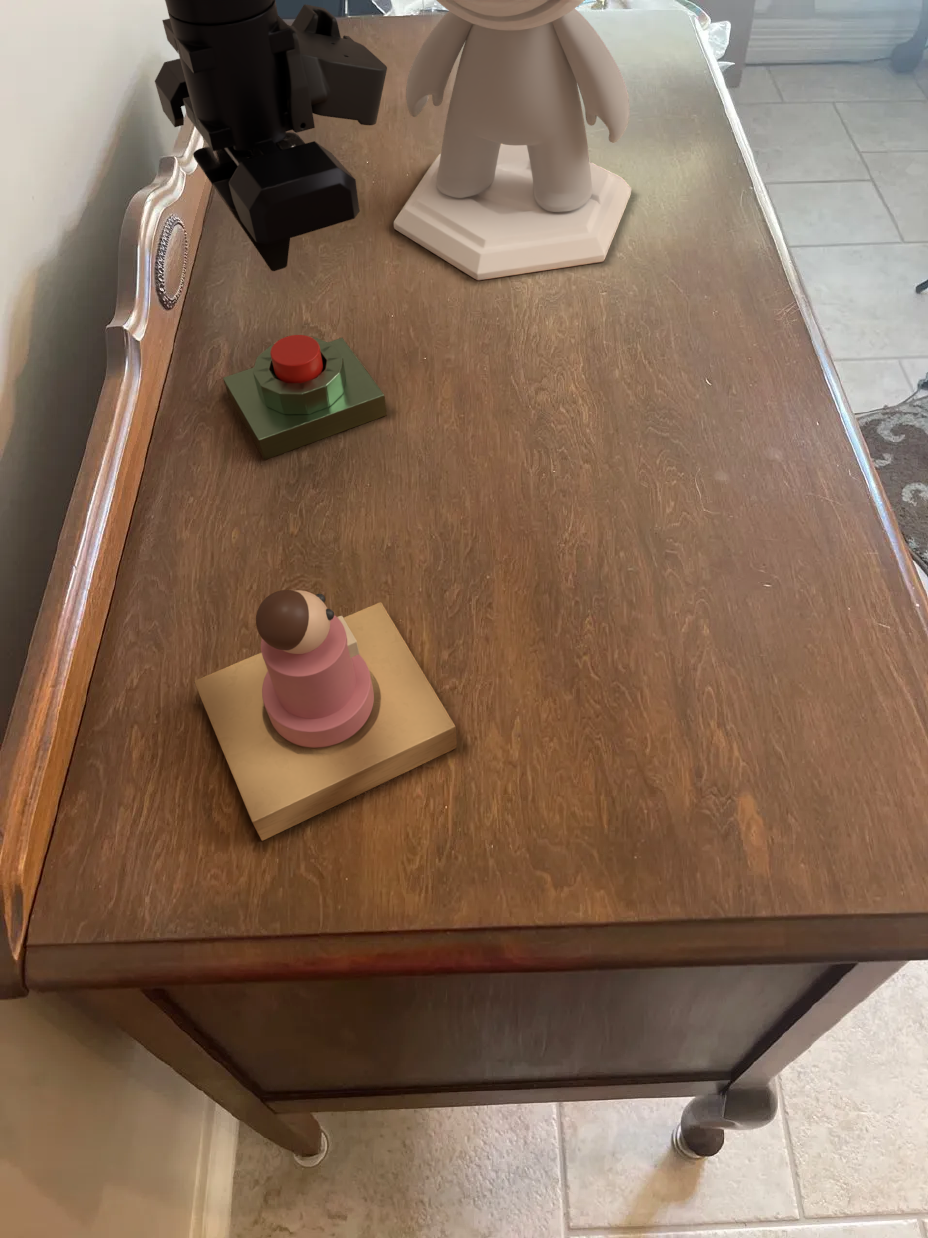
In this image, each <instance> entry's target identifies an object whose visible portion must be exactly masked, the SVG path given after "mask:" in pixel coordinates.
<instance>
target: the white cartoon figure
mask: <svg viewBox="0 0 928 1238" xmlns="http://www.w3.org/2000/svg"><path fill="white" fill-rule="evenodd" d="M435 1H436V2H437V3H439V4H440V5H441V6H442V7H443V8H445V9H446V10H448V11H447V12H446V13H445V14H444V16H443V17H442V18H441V19H440V20H439V21H438V23H436V25H434V27H433V28H432V30H431V31H430V33H428V35H427V36H426V39H424V42H423V43H422V44H421V46H420V48H419V49H418V51H417V53H416V55H415V57H414V58H413V61H412V63H411V65H410V68H409V71H408V75H407V80H406V86H405V101H406V106H407V111H408V112H409V114H410V116H411V117H412V118H417V117H418V116H419V114H421V112H422V111H423V110H424V108H425V106H426V105H427V104H428V102H429V96H430V95H431V96H432V98H431V99H432V100H431V101H432V105H433V106H434V107H439V106H441V105H442V103H443V100H444V96H445V91H446V88H447V85H448V82H449V79H450V76H451V73H452V70H453V68H454V65H455V64H456V61H457V59H458V57H459V54H460V53H461V54H460V59H459V61H458V62H459V63H458V66H457V70H456V75H455V78H454V83H453V86H452V91H451V96H450V100H449V106H448V110H447V114H446V119H445V125H444V131H443V135H442V136H443V138H442V145H441V151H440V153H439V154H438V155H437V157H436V158H435V159H434V160H433V162H432V163H431V165H430V166H429V168H428V169H427V171H426V172H425V173H424V175H423V177H422V178H421V179H420V181H419V183H418V184H417V186H416V187H415V189H414V190H413V192H411V195H410V196H409V198H408V199H407V200H406V202H405V204H404V206H403V207H402V208H401V209H400V212H398V214H397V216H396V218H395V219H394V220H393V228H394V230H396V231H397V232H398V233H400V234H402V235H403V236H405V237H407V238H408V239H410V240H411V241H413V242H415V243H416V244H418V245H420V246H421V247H423V248H424V249H426V250H428V251H429V252H430V253H433V254H434V255H436V256H437V257H439V258H441V259H442V260H444V261H446V262H447V263H449V264H450V265H452V266H453V267H455V268H457V269H458V270H460V271H461V272H463V273H464V274H466V275H468V276H470V277H471V278H473V279H475V280H476V281H482V280H490V279H496V278H497V279H498V278H504V277H510V276H516V275H524V274H529V273H536V272H543V271H549V270H550V271H551V270H557V269H562V268H570V267H577V266H582V265H589V264H596V263H597V264H598V263H603V262H604V261H605V260H606V257H607V254H608V252H609V250H610V247H611V244H612V243H613V240H614V237H615V235H616V232H617V230H618V227H619V225H620V224H621V223H620V222H621V220H622V218H623V215H624V212H625V210H626V207H627V205H628V202H629V200H630V198H631V195H632V187H631V186H630V185H629V184H628V182H627V181H626V180H625V179H624V178H623V177H622V176H620V175H618V174H616V173H614V172H612V171H610V170H608V169H606V168H604V167H602V166H600V165H598V164H595V163H594V162H592V161H590V153H589V146H588V145H589V144H588V137H587V131H586V124H585V122H586V123H587V125H588V126H590V127H591V126H592V127H593V126H594V125H595V124H596V122H597V117H598V118H599V120H601V122H602V123H603V124H604V125H605V126H606V128H607V130H608V141H609V143H613V144H615V143H618V141H619V140H621V138H622V137H623V136H624V134H625V132H626V130H627V128H628V126H629V123H630V117H631V104H630V103H631V102H630V96H629V91H628V87H627V85H626V82H625V79H624V76H623V74H622V72H621V70H620V68H619V66H618V64H617V62H616V60H615V58H614V56H613V55H612V53H611V52H610V50H609V48H608V47H607V45H606V43H605V42H604V40H603V39H602V37H601V36H600V35H599V33H598V32H597V31H596V29H595V28H594V26H593V25H592V24H591V23H590V22H589V21H588V20H587V19H586V17H585V16H584V15H583V14H582V13H581V12H579V11H578V10H577V9H576V8H577V7H579V6H580V5H581V4H582V3H584V2H585V1H586V0H435ZM461 51H462V52H461ZM580 95H581V96H580ZM581 99H582V100H581ZM581 101H582V102H583V106H584V113H585V114H584V113H583V107H582V102H581ZM584 115H585V119H584Z"/></svg>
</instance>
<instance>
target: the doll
mask: <svg viewBox="0 0 928 1238" xmlns="http://www.w3.org/2000/svg"><path fill="white" fill-rule="evenodd" d="M325 603H326V596H325V595H324V594H323V593H317V594H314V593H312V592H310V591H306V590H302V589H295V590H294V589H293V590H291V589H281V590H277V591H274V592H273V593H270V594H269V595H268V596H266V597H265V598H264V599H263V600H262V601H261V603H260V604H259V606H258V609H257V610H256V614H255V615H256V616H255V625H256V629H257V632H258V634H259V636H260V638H261V640H260V641H261V642H260V651H261V652H262V656H263V659H264V661H265V664H266V667H267V670H268V671H267V673H266V676H265V678H264V681H263V686H262V698H263V702H264V705H265V708H266V710H267V713H268V715H269V718H270V720H271V723H272V725H273V726H274V728H275V729H276V731H277V732H278V733H279V734H280V735H281V736H282V737H284V738H285V739H287V740H288V741H290V742H292V743H294V744H297V745H300V746H305V747H313V748H316V747H326V746H331V745H335V744H337V743H340V742H342V741H344V740H346V739H348V738H349V737H351V736H352V735H354V734H355V733H356V732H357V731H358V730H359V729H360V728H361V727H362V726H363V725H364V724H365V722H366V721H367V719H368V717H369V715H370V713H371V710H372V707H373V702H374V692H373V686H372V681H371V676H370V672H369V669H368V666H367V664H366V662H365V661H364V659H363V658H362V657H361V656H360V655H359V650H358V645H357V641H356V639H355V637H354V636H353V634H352V632H351V631H350V629H349V627H348V625H347V624H346V622H345V620H344V617H343V615H339V616H337V615H335V612H334V610H333V609H331V608H328V607H327V605H326V604H325ZM261 652H260V653H261Z"/></svg>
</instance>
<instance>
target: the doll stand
mask: <svg viewBox="0 0 928 1238" xmlns="http://www.w3.org/2000/svg"><path fill="white" fill-rule="evenodd" d="M343 618H344V620H345V622H346V624H347V625H348V627H349V629H350V631H351V632H352V634H353V636H354V637H355V639H356V641H357V645H358V650H359V655H360V656H361V657H362V658H363V659H364V661H365V662H366V664H367V666H368V669H369V672H370V676H371V681H372V686H373V692H374V702H373V707H372V710H371V713H370V715H369V717H368V719H367V721H366V722H365V724H364V725H363V726H362V727H361V728H360V729H359V730H358V731H357V732H356V733H355V734H354V735H352V736H351V737H349V738H348V739H346V740H344V741H342V742H340V743H337V744H335V745H331V746H326V747H316V748H313V747H305V746H300V745H297V744H294V743H292V742H290V741H288V740H287V739H285V738H284V737H282V736H281V735H280V734H279V733H278V732H277V731H276V729H275V728H274V726H273V725H272V723H271V720H270V718H269V715H268V713H267V710H266V708H265V705H264V702H263V698H262V686H263V681H264V678H265V676H266V673H267V671H268V670H267V667H266V664H265V661H264V659H263V656H262V652H259V653H257V654H254V655H252V656H250V657H247V658H245V659H243V660H239V661H238V662H236V663H233V664H231V665H228V666H226V667H224V668H221V669H219V670H217V671H214V672H212V673H210V674H207V675H204V676H203V677H200V678H197V679H195V680H194V681H193V683H194V685H195V688H196V690H197V692H198V695H199V698H200V700H201V702H202V704H203V707H204V709H205V712H206V714H207V717H208V719H209V721H210V724H211V726H212V728H213V731H214V734H215V736H216V739H217V741H218V744H219V746H220V749H221V750H222V751H221V752H222V753H223V755H224V758H225V760H226V762H227V766H228V767H229V770H230V772H231V774H232V777H233V779H234V781H235V784H236V786H237V789H238V791H239V794H240V796H241V799H242V801H243V804H244V806H245V809H246V811H247V814H248V817H249V818H250V820H251V823H252V824H253V826H254V827H253V828H255V830H256V833H257V835H258V836H259V838H260V840H261V841H262V842H263V841H265V840H268V839H269V838H272V837H274V836H276V835H277V834H279V833H283V832H284V831H286V830H288V829H290V828H292V827H294V826H296V825H299V824H300V823H303V822H304V821H307V820H309V819H311V818H313V817H315V816H318V815H319V814H321V813H323V812H325V811H328V810H330V809H332V808H334V807H336V806H338V805H340V804H342V803H345V802H346V801H349V800H351V799H354V798H355V797H357V796H359V795H361V794H363V793H366V792H367V791H370V790H373V789H374V788H376V787H377V786H380V785H382V784H385V783H387V782H389V781H390V780H393V779H395V778H397V777H398V776H401V775H403V774H405V773H408V772H409V771H411V770H414V769H415V768H418V767H420V766H421V765H424V764H426V763H428V762H430V761H433V760H435V759H436V758H438V757H441V756H442V755H443V756H444V754H447V753H449V752H451V751H454V750H455V749H457V745H458V744H457V729H456V725H455V723H454V721H453V719H452V718H451V716H450V715H449V713H448V711H447V710H446V708H445V706H444V705H443V703H442V701H441V700H440V699H439V697H438V695H437V693H436V691H435V689H434V688H433V686H432V685H431V683H430V681H429V680H428V677H427V676H426V675H425V673H424V672H423V669H422V668H421V666H420V665H419V663H418V661H417V659H416V658H415V657H414V655H413V653H412V651H411V650H410V648H409V646H408V644H407V642H406V641H405V640H404V638H403V636H402V634H401V633H400V631H399V629H398V628H397V626H396V625H395V623H394V621H393V619H392V618H391V616H390V615H389V613H388V611H387V609H386V608H385V606H384V604H383V602H381V601H379V602H377V603H375V604H373V605H370V606H368V607H366V608H363V609H361V610H358V611H356V612H353V613H351V614H349V615H347V616H344V617H343Z"/></svg>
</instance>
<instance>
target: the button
mask: <svg viewBox="0 0 928 1238" xmlns="http://www.w3.org/2000/svg"><path fill="white" fill-rule="evenodd" d="M313 338H314V337H311V336H309V335H305V334H292V335H288V336H284V337H282V338H280V339H278V340H277V341H276V342H274V343H273V344H274V345H273V346H272V348H271V352H270V355H271V359H272V363H273V367H274V372H275V375H276V376H277V378H278V379H279V380H281V381H283V382H285V383H303V382H306V381H309V380H312V379H315V378H317V377H318V376H319V375H320V374H321V372H322V369H323V362H322V357H321V352H320V346H319V344H318V342H317V341H316V340H315V339H313Z"/></svg>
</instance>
